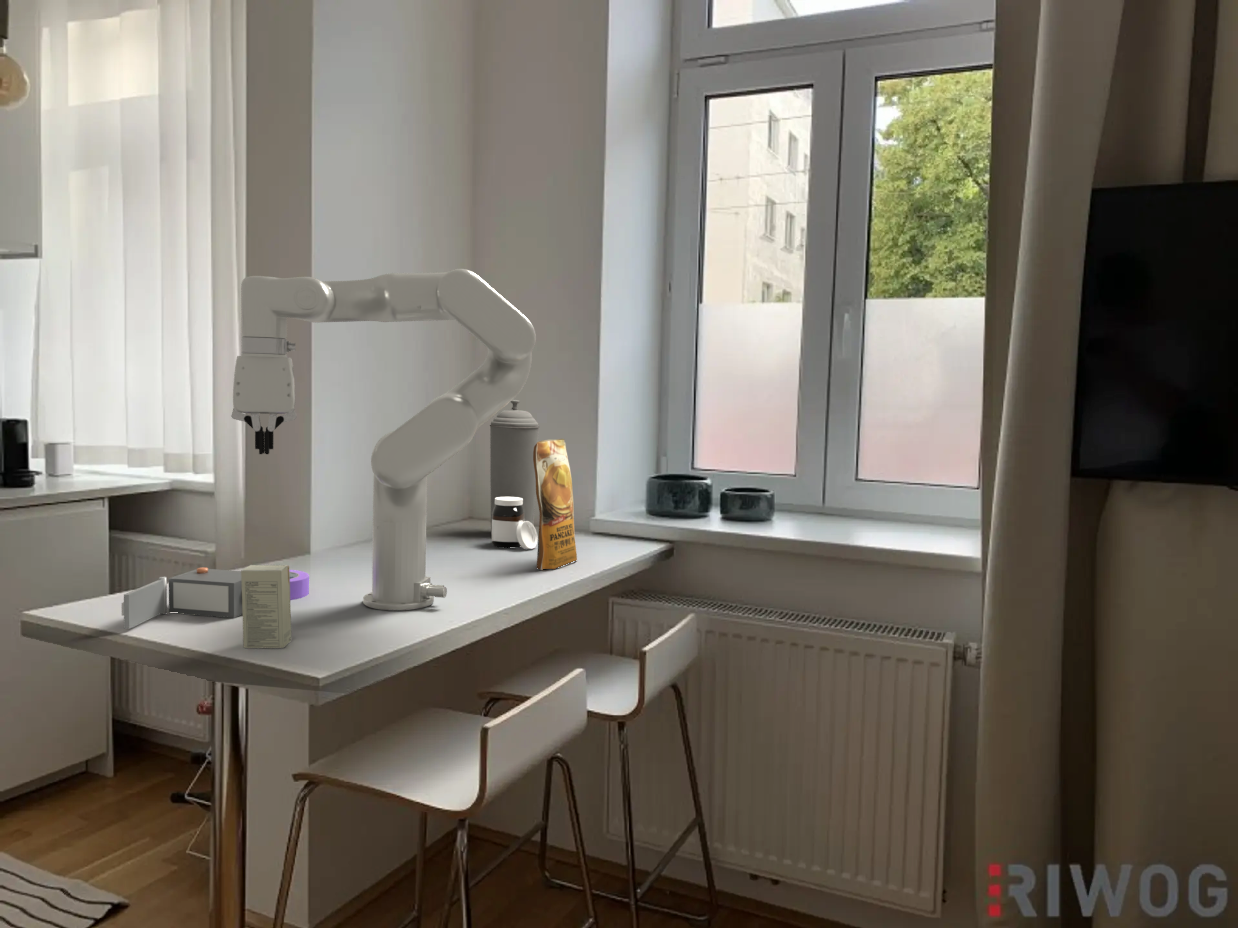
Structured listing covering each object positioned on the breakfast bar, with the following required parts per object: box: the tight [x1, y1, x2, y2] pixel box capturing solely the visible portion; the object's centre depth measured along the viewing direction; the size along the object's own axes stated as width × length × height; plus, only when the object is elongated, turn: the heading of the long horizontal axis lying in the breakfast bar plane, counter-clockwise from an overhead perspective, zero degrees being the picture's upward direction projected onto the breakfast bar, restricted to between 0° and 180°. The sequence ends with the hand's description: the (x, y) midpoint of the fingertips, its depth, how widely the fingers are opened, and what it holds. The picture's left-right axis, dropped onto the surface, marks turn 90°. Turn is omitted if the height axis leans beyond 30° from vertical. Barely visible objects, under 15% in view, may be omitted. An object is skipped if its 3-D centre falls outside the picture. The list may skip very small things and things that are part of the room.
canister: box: [489, 399, 540, 534], centre depth 257 cm, size 13×13×35 cm
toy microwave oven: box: [168, 566, 243, 619], centre depth 172 cm, size 13×9×7 cm
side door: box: [121, 576, 168, 630], centre depth 163 cm, size 12×2×6 cm, turn 178°
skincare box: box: [240, 564, 292, 649], centre depth 152 cm, size 6×4×12 cm
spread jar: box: [491, 497, 538, 550], centre depth 241 cm, size 12×11×12 cm
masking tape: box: [289, 569, 310, 601], centre depth 185 cm, size 12×12×4 cm
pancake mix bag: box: [533, 438, 578, 571], centre depth 221 cm, size 7×19×28 cm, turn 156°
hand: (264, 453), depth 175 cm, fingers closed
